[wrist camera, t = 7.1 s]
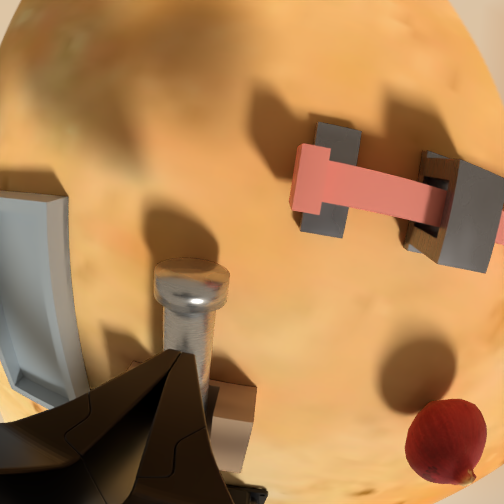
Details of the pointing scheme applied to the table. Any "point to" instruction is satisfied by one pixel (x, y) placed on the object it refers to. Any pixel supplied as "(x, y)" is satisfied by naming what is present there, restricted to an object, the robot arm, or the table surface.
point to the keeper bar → (364, 190)
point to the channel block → (228, 421)
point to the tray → (38, 300)
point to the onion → (446, 441)
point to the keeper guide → (454, 214)
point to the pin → (191, 308)
